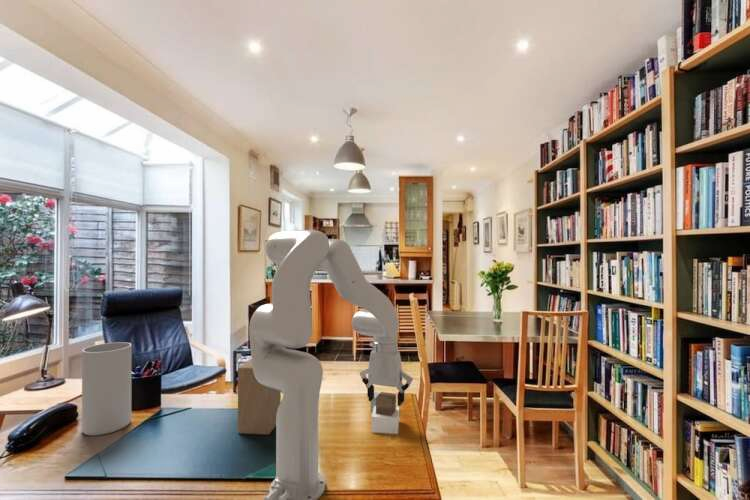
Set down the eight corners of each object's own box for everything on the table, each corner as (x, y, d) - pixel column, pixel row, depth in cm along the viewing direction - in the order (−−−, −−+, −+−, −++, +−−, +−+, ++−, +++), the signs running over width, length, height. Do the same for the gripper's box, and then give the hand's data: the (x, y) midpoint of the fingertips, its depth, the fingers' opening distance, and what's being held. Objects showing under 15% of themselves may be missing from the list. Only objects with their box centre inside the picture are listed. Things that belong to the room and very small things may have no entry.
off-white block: (397, 434, 110) (397, 418, 110) (371, 433, 110) (371, 416, 110) (398, 422, 117) (398, 406, 118) (374, 421, 118) (374, 405, 118)
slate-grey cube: (384, 414, 123) (384, 399, 123) (370, 411, 125) (370, 397, 125) (388, 408, 128) (388, 394, 128) (375, 406, 130) (375, 392, 130)
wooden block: (281, 420, 119) (281, 358, 119) (269, 435, 109) (269, 368, 109) (251, 418, 120) (251, 358, 120) (237, 433, 110) (237, 367, 110)
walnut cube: (391, 416, 111) (391, 399, 111) (375, 413, 113) (375, 397, 113) (396, 409, 115) (395, 393, 116) (381, 407, 117) (381, 391, 117)
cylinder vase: (112, 436, 108) (112, 352, 108) (70, 436, 108) (71, 352, 108) (140, 417, 120) (140, 342, 120) (103, 417, 121) (103, 342, 121)
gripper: (355, 347, 114) (355, 402, 114) (409, 353, 108) (409, 410, 107) (364, 342, 121) (364, 393, 121) (415, 346, 115) (415, 401, 114)
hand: (385, 401), depth 114 cm, fingers open, 9 cm apart
